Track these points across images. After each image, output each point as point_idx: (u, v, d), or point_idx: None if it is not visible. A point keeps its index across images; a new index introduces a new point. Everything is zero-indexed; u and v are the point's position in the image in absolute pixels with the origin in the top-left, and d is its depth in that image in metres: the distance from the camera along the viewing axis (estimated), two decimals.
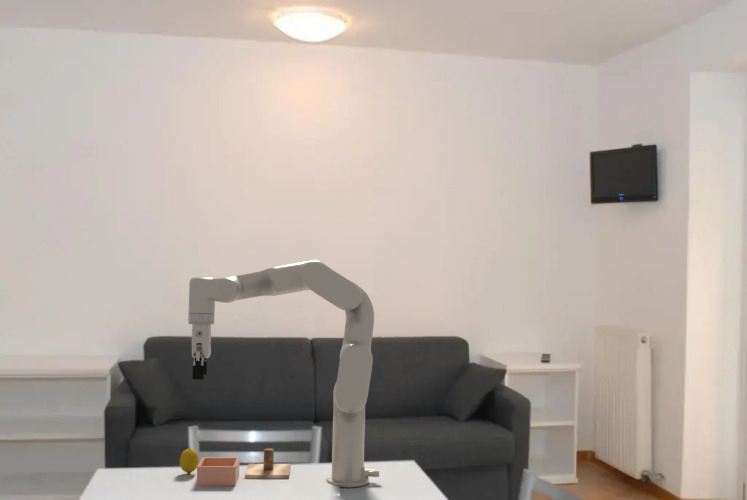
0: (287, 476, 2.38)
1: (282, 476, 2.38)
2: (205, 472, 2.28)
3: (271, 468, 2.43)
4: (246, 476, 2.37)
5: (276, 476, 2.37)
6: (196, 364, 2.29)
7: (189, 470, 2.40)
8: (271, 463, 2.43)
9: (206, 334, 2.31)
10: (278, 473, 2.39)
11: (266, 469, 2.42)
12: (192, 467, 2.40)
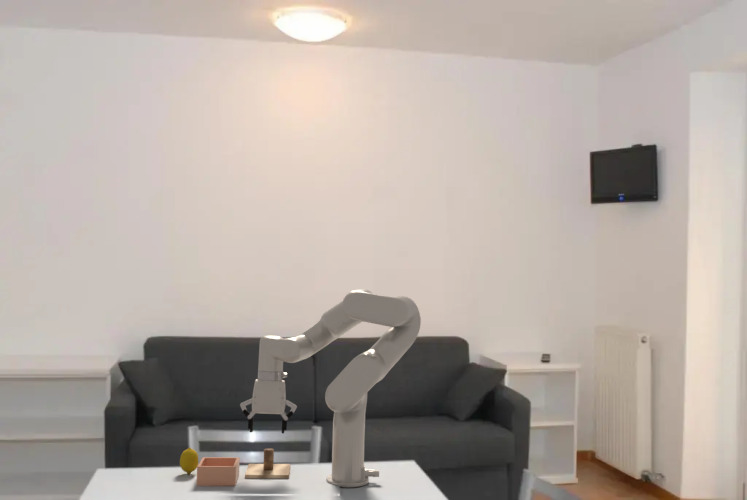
0: (287, 476, 2.38)
1: (282, 476, 2.38)
2: (205, 472, 2.28)
3: (271, 468, 2.43)
4: (246, 476, 2.37)
5: (276, 476, 2.37)
6: (288, 418, 2.44)
7: (189, 470, 2.40)
8: (271, 463, 2.43)
9: None
10: (278, 473, 2.39)
11: (266, 469, 2.42)
12: (192, 467, 2.40)
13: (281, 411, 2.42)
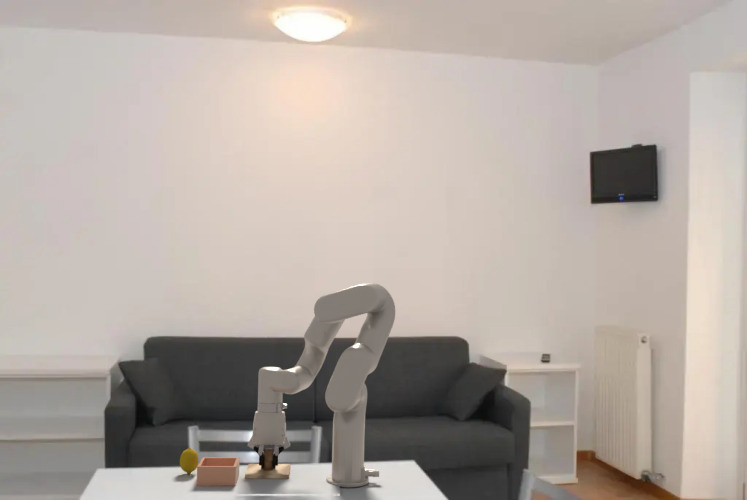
0: (287, 476, 2.38)
1: (282, 476, 2.38)
2: (205, 472, 2.28)
3: (271, 468, 2.43)
4: (246, 476, 2.37)
5: (276, 476, 2.37)
6: None
7: (189, 470, 2.40)
8: (271, 463, 2.43)
9: None
10: (278, 473, 2.39)
11: (266, 469, 2.42)
12: (192, 467, 2.40)
13: (282, 442, 2.42)
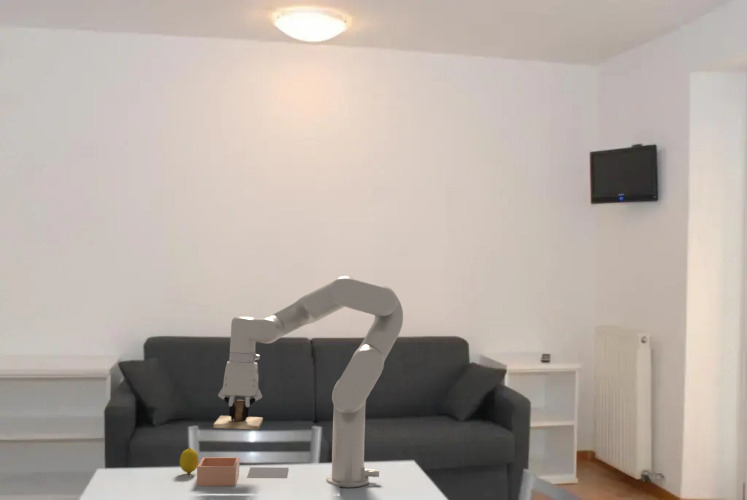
0: (256, 427, 2.32)
1: (251, 427, 2.32)
2: (205, 472, 2.28)
3: (241, 419, 2.37)
4: (215, 425, 2.32)
5: (245, 427, 2.32)
6: None
7: (189, 470, 2.40)
8: (242, 414, 2.37)
9: None
10: (248, 424, 2.34)
11: (236, 420, 2.37)
12: (192, 467, 2.40)
13: (253, 394, 2.37)
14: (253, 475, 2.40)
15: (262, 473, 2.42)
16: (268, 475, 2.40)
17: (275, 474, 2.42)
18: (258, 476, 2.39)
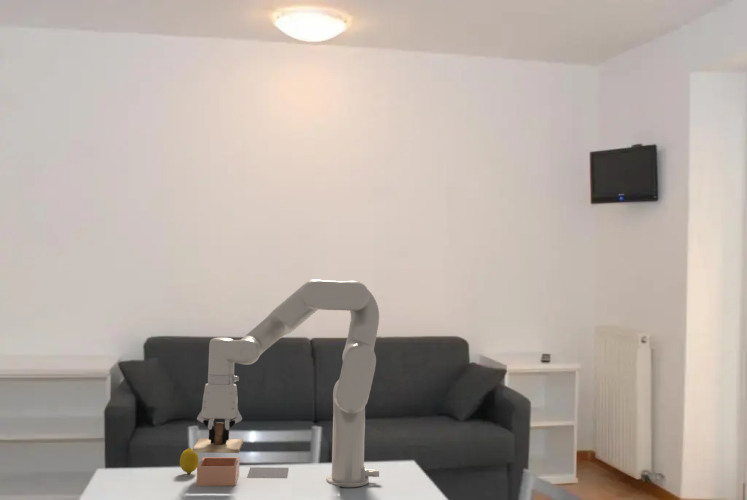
0: (237, 450, 2.28)
1: (232, 450, 2.28)
2: (205, 472, 2.28)
3: (221, 442, 2.33)
4: (194, 450, 2.27)
5: (225, 450, 2.28)
6: None
7: (189, 470, 2.40)
8: (221, 437, 2.33)
9: None
10: (228, 447, 2.29)
11: (216, 443, 2.33)
12: (192, 467, 2.40)
13: (233, 416, 2.32)
14: (253, 475, 2.40)
15: (262, 473, 2.42)
16: (268, 475, 2.40)
17: (275, 474, 2.42)
18: (258, 476, 2.39)
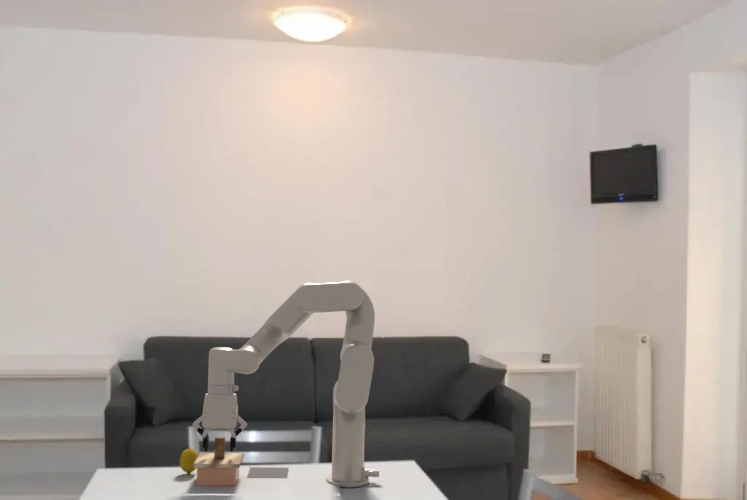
0: (237, 465, 2.28)
1: (232, 465, 2.28)
2: (205, 472, 2.28)
3: (222, 457, 2.33)
4: (195, 465, 2.27)
5: (226, 465, 2.28)
6: None
7: (189, 470, 2.40)
8: (222, 452, 2.33)
9: None
10: (228, 462, 2.29)
11: (217, 458, 2.33)
12: (192, 467, 2.40)
13: (233, 426, 2.32)
14: (253, 475, 2.40)
15: (262, 473, 2.42)
16: (268, 475, 2.40)
17: (275, 474, 2.42)
18: (258, 476, 2.39)
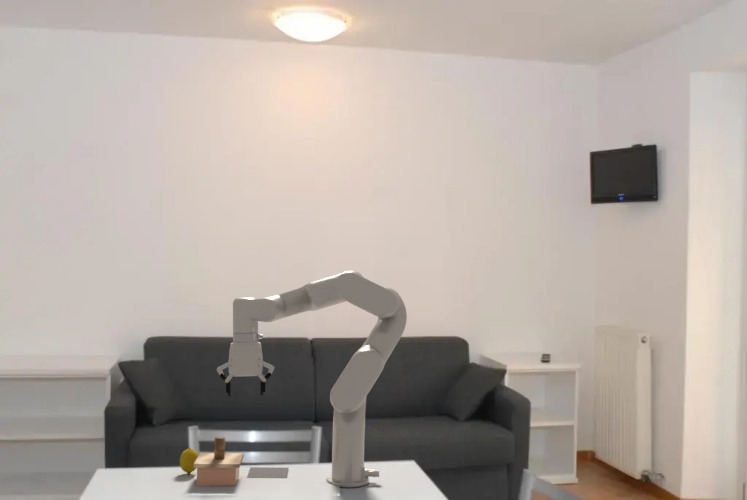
0: (237, 465, 2.28)
1: (232, 465, 2.28)
2: (205, 472, 2.28)
3: (222, 457, 2.33)
4: (195, 465, 2.27)
5: (226, 465, 2.28)
6: (266, 379, 2.41)
7: (189, 470, 2.40)
8: (222, 452, 2.33)
9: None
10: (228, 462, 2.29)
11: (217, 458, 2.33)
12: (192, 467, 2.40)
13: (259, 373, 2.39)
14: (253, 475, 2.40)
15: (262, 473, 2.42)
16: (268, 475, 2.40)
17: (275, 474, 2.42)
18: (258, 476, 2.39)
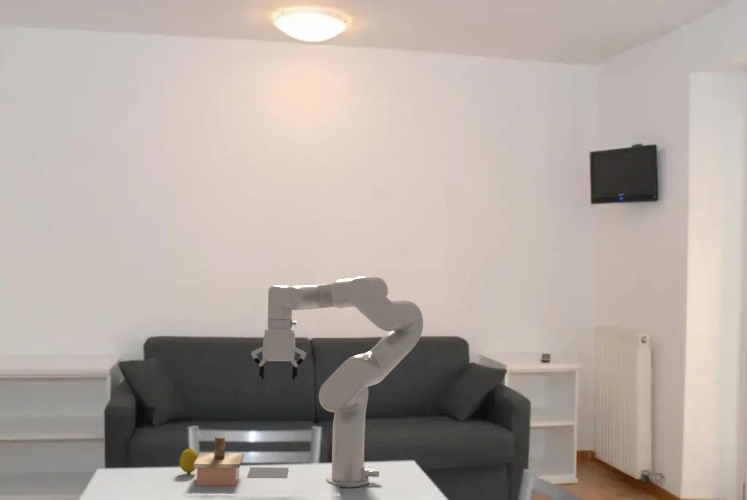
0: (237, 465, 2.28)
1: (232, 465, 2.28)
2: (205, 472, 2.28)
3: (222, 457, 2.33)
4: (195, 465, 2.27)
5: (226, 465, 2.28)
6: (298, 365, 2.50)
7: (189, 470, 2.40)
8: (222, 452, 2.33)
9: None
10: (228, 462, 2.29)
11: (217, 458, 2.33)
12: (192, 467, 2.40)
13: (291, 358, 2.49)
14: (253, 475, 2.40)
15: (262, 473, 2.42)
16: (268, 475, 2.40)
17: (275, 474, 2.42)
18: (258, 476, 2.39)
